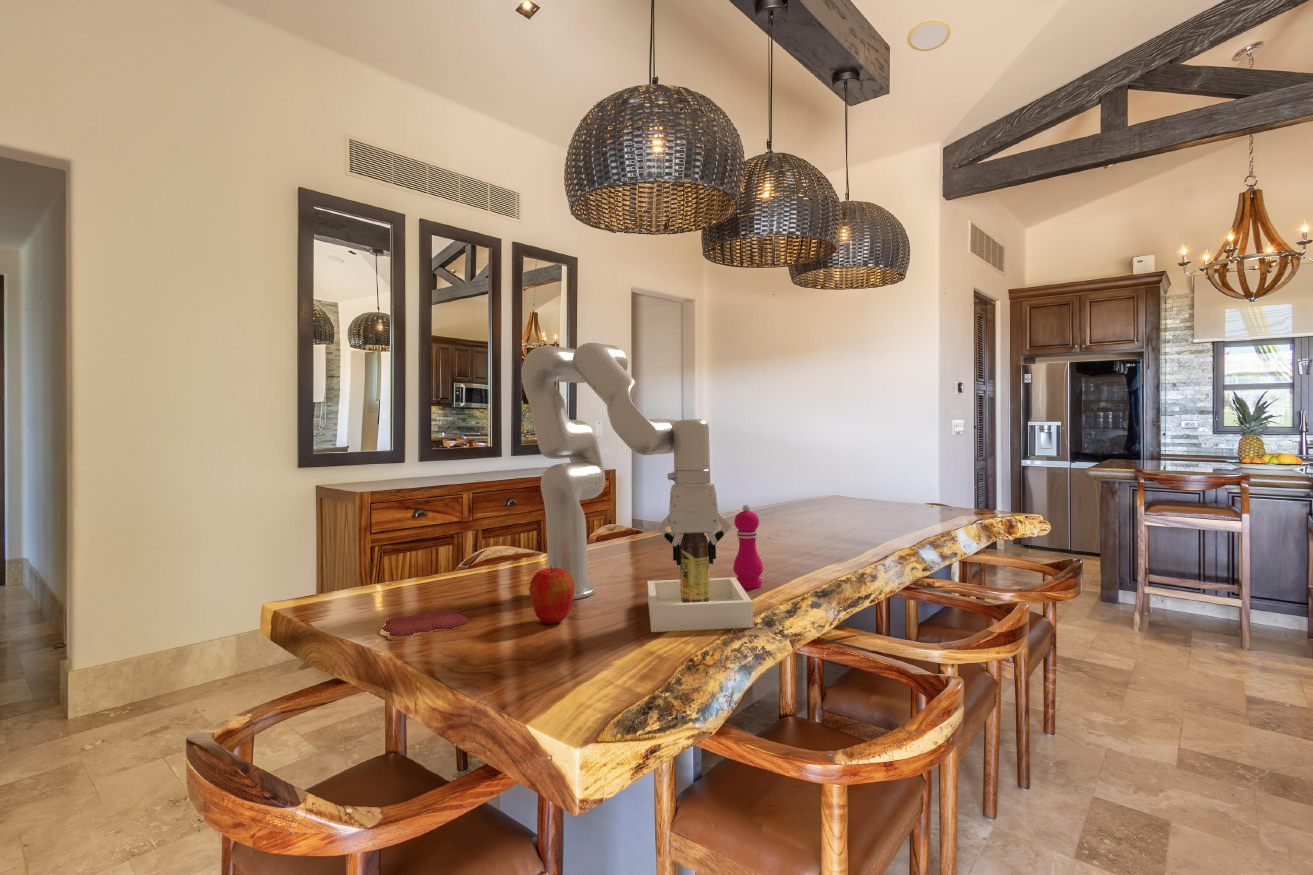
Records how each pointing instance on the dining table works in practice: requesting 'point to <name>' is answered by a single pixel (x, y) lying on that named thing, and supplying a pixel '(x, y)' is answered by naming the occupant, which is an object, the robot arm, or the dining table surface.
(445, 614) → the patty
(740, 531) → the pepper mill
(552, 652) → the dining table surface
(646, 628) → the dining table surface
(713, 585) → the tray
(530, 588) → the apple
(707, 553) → the sauce bottle
